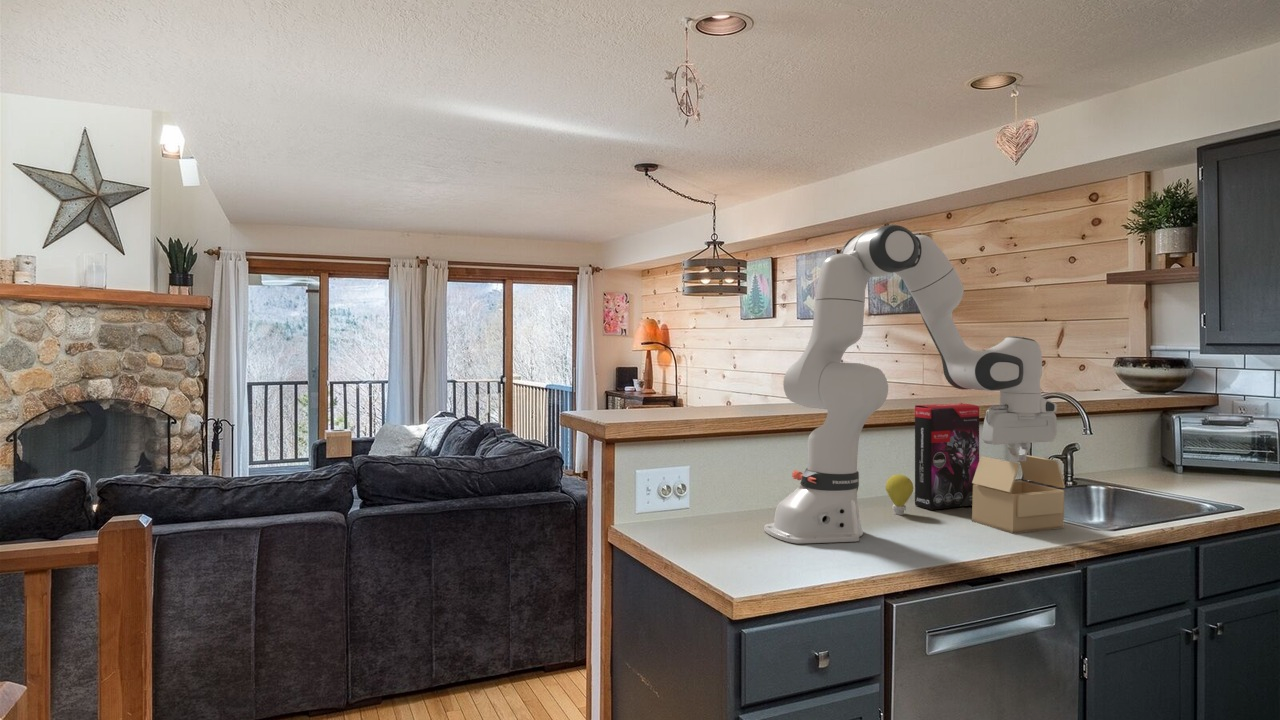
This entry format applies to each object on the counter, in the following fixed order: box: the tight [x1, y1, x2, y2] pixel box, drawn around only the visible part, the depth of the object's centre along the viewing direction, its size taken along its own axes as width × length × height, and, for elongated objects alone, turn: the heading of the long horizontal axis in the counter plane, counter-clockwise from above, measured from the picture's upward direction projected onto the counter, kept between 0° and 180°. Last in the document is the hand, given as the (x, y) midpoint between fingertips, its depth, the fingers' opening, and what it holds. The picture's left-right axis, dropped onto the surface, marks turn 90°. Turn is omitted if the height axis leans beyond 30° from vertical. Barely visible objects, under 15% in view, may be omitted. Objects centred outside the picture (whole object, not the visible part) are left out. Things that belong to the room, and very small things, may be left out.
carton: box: [971, 480, 1065, 535], centre depth 176 cm, size 16×13×9 cm
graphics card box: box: [914, 402, 980, 511], centre depth 194 cm, size 17×7×27 cm, turn 112°
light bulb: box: [885, 473, 914, 516], centre depth 185 cm, size 7×7×10 cm
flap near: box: [972, 455, 1021, 493], centre depth 173 cm, size 1×11×7 cm, turn 22°
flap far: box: [1019, 454, 1066, 489], centre depth 178 cm, size 1×11×7 cm, turn 20°
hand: (1018, 461), depth 175 cm, fingers closed
